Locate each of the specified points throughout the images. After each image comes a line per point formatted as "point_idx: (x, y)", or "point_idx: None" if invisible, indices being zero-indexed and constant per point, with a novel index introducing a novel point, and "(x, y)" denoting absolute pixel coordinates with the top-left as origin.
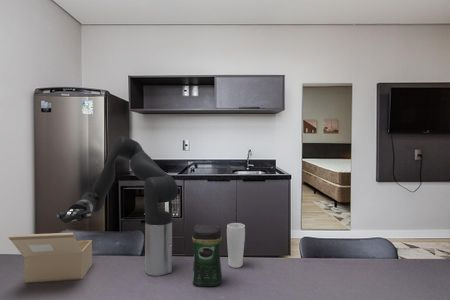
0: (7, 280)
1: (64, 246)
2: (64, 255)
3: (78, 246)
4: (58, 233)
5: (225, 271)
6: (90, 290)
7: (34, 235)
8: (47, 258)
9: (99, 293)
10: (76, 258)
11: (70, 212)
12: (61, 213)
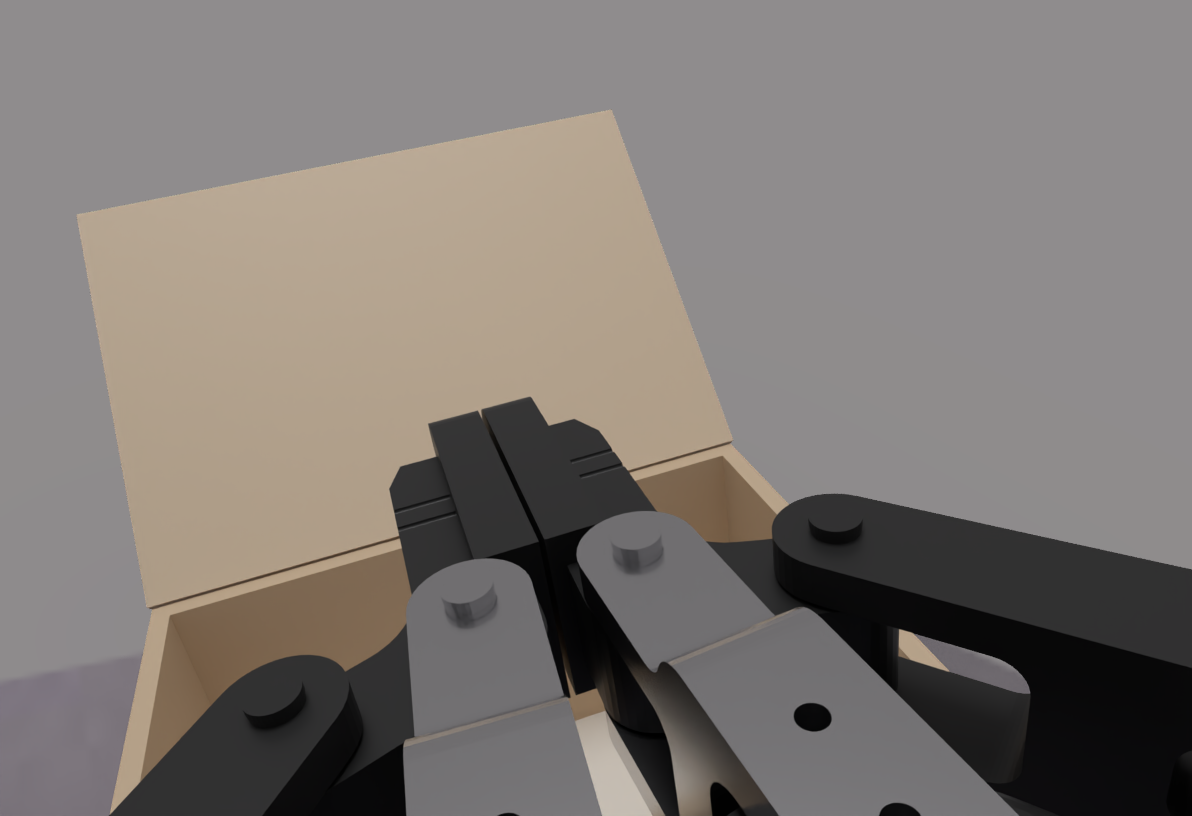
0: (953, 660)
1: (264, 400)
2: (356, 576)
3: (126, 449)
4: (217, 188)
5: None
6: (130, 703)
7: (416, 155)
8: None
9: (56, 688)
10: (239, 648)
11: (682, 659)
12: (1048, 581)
